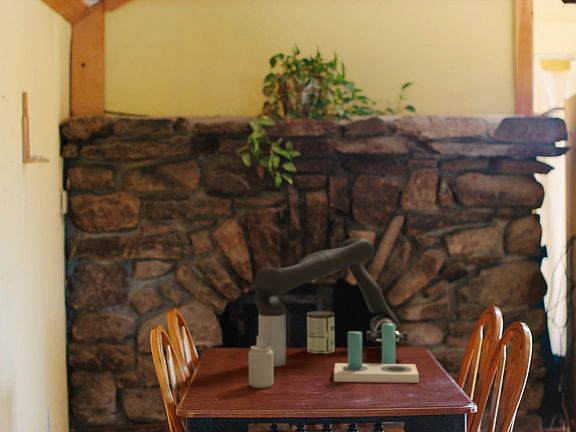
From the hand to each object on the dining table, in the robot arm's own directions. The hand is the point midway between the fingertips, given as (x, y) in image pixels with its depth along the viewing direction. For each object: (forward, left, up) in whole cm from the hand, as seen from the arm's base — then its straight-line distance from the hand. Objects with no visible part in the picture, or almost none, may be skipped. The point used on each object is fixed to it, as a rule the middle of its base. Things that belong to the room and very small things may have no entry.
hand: (387, 339), depth 264 cm
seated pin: (-20, -12, -8) cm, 24 cm away
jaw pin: (-2, -4, -8) cm, 9 cm away
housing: (-14, -15, -8) cm, 22 cm away
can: (-51, -9, -8) cm, 53 cm away
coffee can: (-11, +28, -8) cm, 31 cm away
